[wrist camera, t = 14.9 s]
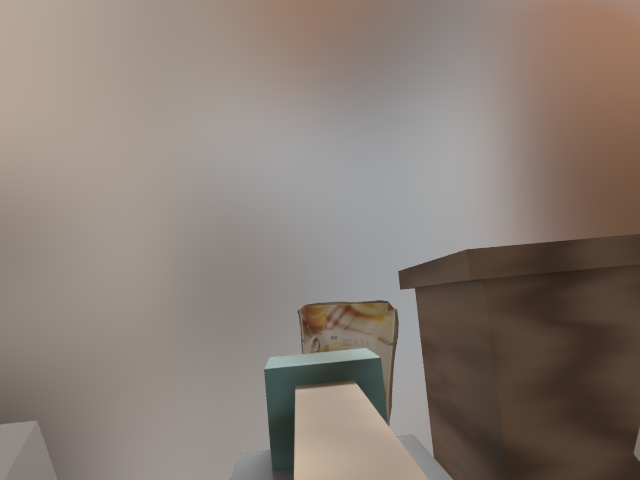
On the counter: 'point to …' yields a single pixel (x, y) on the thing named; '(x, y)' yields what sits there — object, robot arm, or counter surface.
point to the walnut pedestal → (533, 359)
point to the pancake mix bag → (353, 332)
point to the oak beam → (333, 418)
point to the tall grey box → (257, 475)
